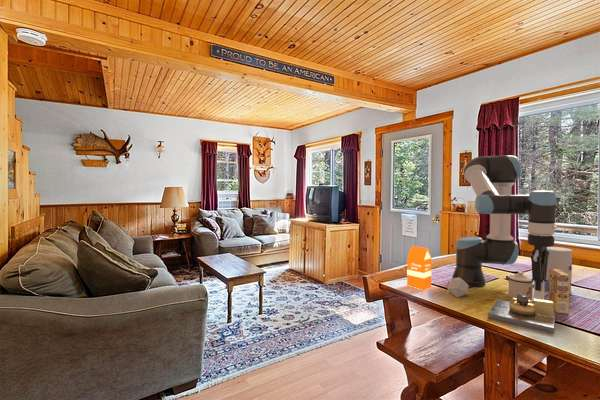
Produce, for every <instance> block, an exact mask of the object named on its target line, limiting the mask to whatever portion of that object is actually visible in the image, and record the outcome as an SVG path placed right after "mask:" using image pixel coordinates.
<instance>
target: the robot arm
mask: <svg viewBox="0 0 600 400" xmlns="http://www.w3.org/2000/svg"><path fill="white" fill-rule="evenodd" d="M462 173H463V174H462V175H463V177H464V179H465V181H467V182H468V183H470V185H471V188H472V190H473V191H474V193H475V195H476V196H475V200H474V207H475V211H476V213H478V214H485V215H490V217H489V225H490V226H489V233H488V234H487V235H486V238H485V240H484V239H483V238H482V237H479V236H467V237H466V236H463V237H461V238H459V239H457V240H456V242H455V243H456V245H455V251H456V253H455V256H456V258H455V268H454V272H453V274H452V277H451V279H453V278H458V277H459V278H461V279H462V280H464V281H465V282H466V283H467V284H468V285H469V286H468V287H473V288H474V287H476V288H479V287H481V288H482V287H484V286H485V285H486V278H485V276H484V275H485V274H484V272H483V268H482V265H483V264H491V265H501V266H502V265H503V266H504V265H513V264H515V262H517V260H518V257H519V244H518V242H517V241H515V238H514V237H513V236H512V235H511V221H512V215H528V221H527V222H528V225H527V233H528V234H527V244H529V245H530V246H533V249H532V252H531V255H530V260H531V276H532V277H531V278H532V279H531V280H532V281H533V299H540V300H545V289H544V283H545V281H547V280H548V279H545V278H546V277H547V276H546V275H547V265H548V256H549V251H548V250H547V247H555V230H557V228H558V226H556V207H557V195H556V192H555V191H553V190H532V191H530V192H529V193H525V194H512V191H513V190H512V189H513V188H512V187H513V186H514V185H515V184H516V183H517V182H516V180H519V179H520V178H521V174H522V166H521V162H520V160H519V159H518V157H517V156H515V155H509V154H508V155H506V154H505V155H489V156H488V155H486V156H485V155H484V156H483V155H482V156H477V157H474V158H473V159H471V160H469V161H468V162H467V163H466V164H465V165H464V167H463V172H462Z"/></svg>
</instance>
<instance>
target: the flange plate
mask: <svg viewBox="0 0 600 400" xmlns="http://www.w3.org/2000/svg"><path fill="white" fill-rule="evenodd" d="M528 301H529V297H528V296H526V295H521V294H518V295H517V302H519V303H520V304H521V305H527V304H528ZM556 313H557V312H556V311H555V310H554V309H553V317H551V316H545V315H538V314H535V315H521V314H517V313H515V312H512V311H511V310H510V300H504V299H499V298H498V299H496V300H495V303H494V304H493V305H492V307H491V308H490V310H489V312H488V315H487V316H488V317H487V318H488V319H490V320H493V321H498V322H503V323H506V324H511V325H515V326H518V327H523V328H528V329H531V330H536V331H541V332H545V333H549V334H554V333H555V324H556V323H555V322H556V317H557V314H556Z"/></svg>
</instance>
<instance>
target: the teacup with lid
mask: <svg viewBox="0 0 600 400" xmlns="http://www.w3.org/2000/svg"><path fill="white" fill-rule="evenodd" d="M507 278H508V297H509V298H510V299H512V298H516V299H517V295H518V294H521V295H526V296H528V297H529V300H530V301H533V292H534V281H532V280H531V279H532V277H530V276H527V275H526V274H524V272H523V271H518V272H517V273H515V274H511V275H508V277H507Z"/></svg>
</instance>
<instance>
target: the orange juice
mask: <svg viewBox="0 0 600 400" xmlns="http://www.w3.org/2000/svg"><path fill="white" fill-rule="evenodd" d="M406 258H407V261H406V263H407V265H406V267H407V268H406V275H407V276H406V286H407V285H409V286H412V287H416V288H419V289H422V290H421V291H423V290H424V291H426V290H428V289H427V288H429V289H431V288H432V257H431V254H430V250H429V248H427V247H420V246H416V245H415V246H414V245H411V247H410V250H409V252H408V255H407V257H406ZM430 287H431V288H430ZM419 289H418V290H419ZM425 289H426V290H425Z"/></svg>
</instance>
